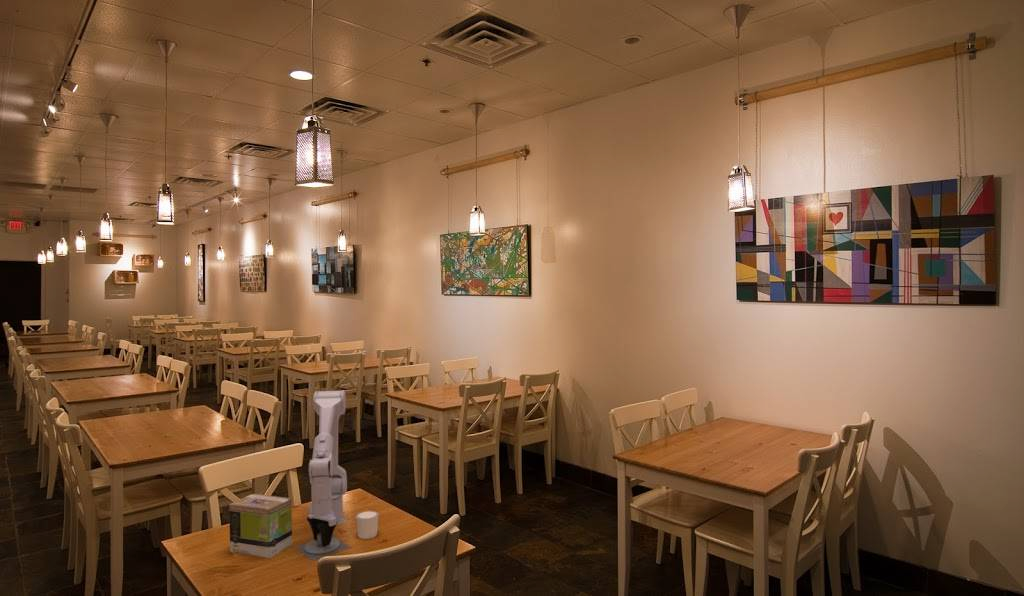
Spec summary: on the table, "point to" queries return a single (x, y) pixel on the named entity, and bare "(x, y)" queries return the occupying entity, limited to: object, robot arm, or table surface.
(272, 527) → the tea box
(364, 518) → the white cylinder
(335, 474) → the robot arm
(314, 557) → the mat
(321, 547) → the lid
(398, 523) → the table surface
